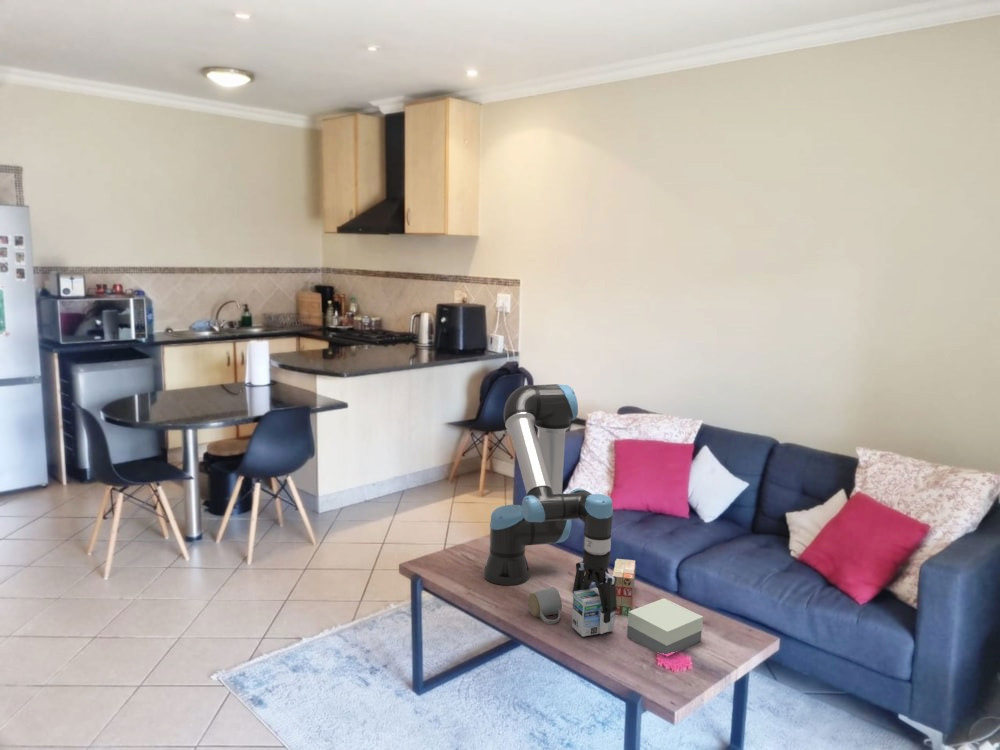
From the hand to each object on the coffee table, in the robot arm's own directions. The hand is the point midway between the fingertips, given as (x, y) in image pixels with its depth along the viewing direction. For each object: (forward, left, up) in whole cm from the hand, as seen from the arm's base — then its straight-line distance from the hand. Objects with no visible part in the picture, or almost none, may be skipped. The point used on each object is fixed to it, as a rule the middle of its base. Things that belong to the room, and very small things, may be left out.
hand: (592, 626), depth 213 cm
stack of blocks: (-9, +22, -2) cm, 24 cm away
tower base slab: (+15, +13, -2) cm, 20 cm away
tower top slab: (+15, +13, +2) cm, 20 cm away
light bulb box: (0, 0, -1) cm, 1 cm away
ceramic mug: (-14, -4, -2) cm, 15 cm away
